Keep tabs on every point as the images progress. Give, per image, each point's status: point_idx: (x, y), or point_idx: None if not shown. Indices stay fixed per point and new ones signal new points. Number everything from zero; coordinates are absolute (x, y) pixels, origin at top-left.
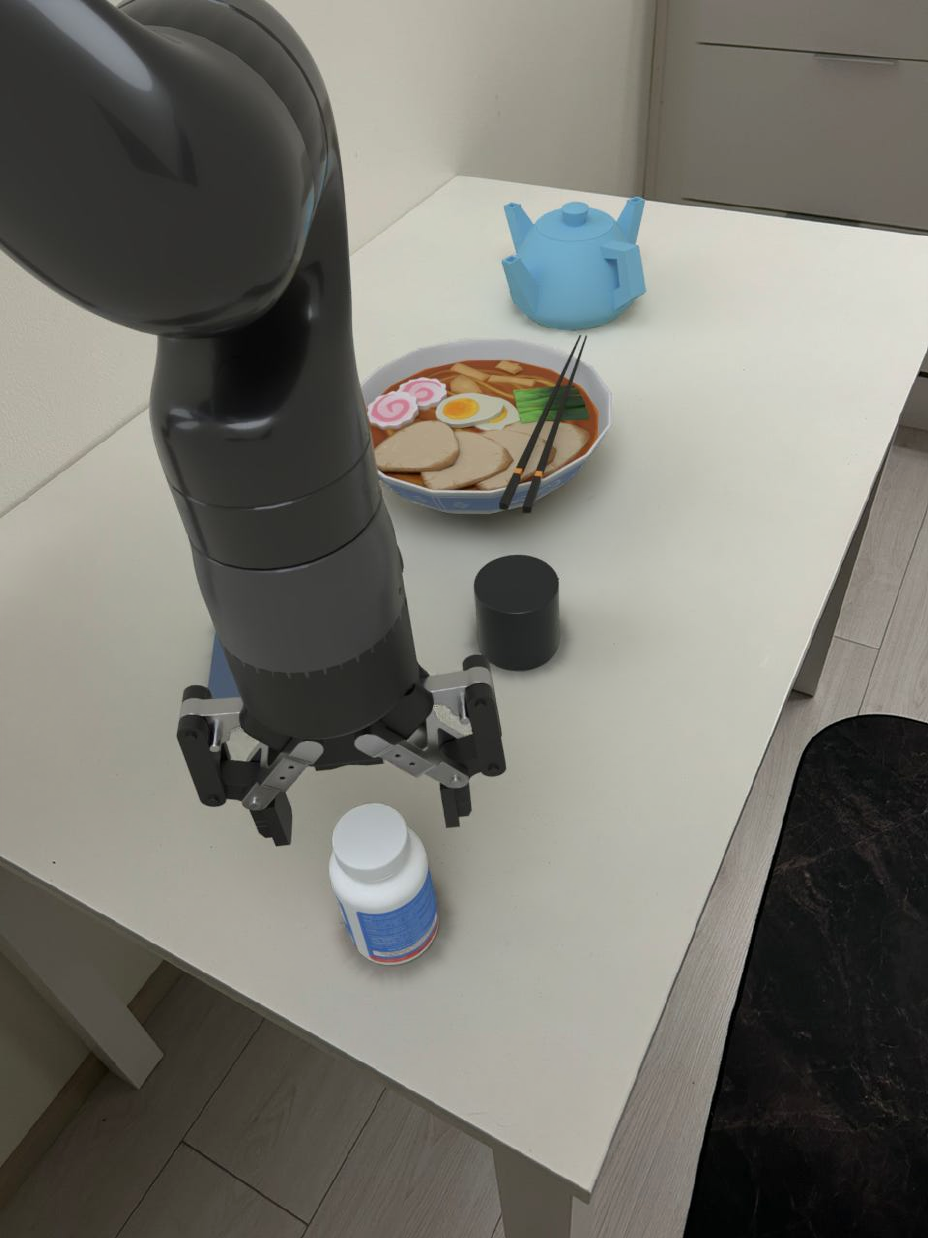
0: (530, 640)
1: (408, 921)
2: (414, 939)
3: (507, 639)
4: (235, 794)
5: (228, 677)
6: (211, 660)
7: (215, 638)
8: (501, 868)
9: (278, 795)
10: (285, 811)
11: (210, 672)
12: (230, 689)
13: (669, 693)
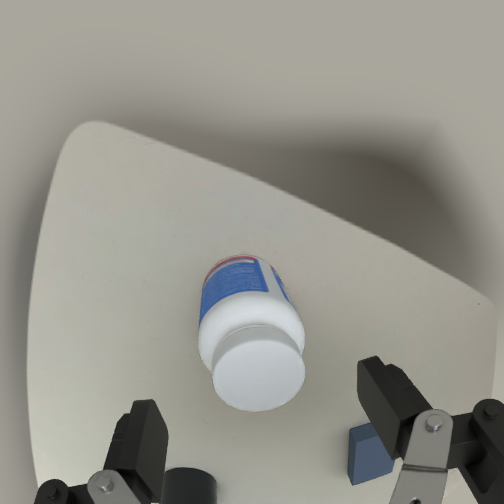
0: (173, 490)
1: (216, 289)
2: (215, 275)
3: (189, 492)
4: (456, 425)
5: None
6: None
7: (394, 459)
8: (160, 341)
9: (389, 430)
10: (372, 404)
11: None
12: None
13: (84, 448)
